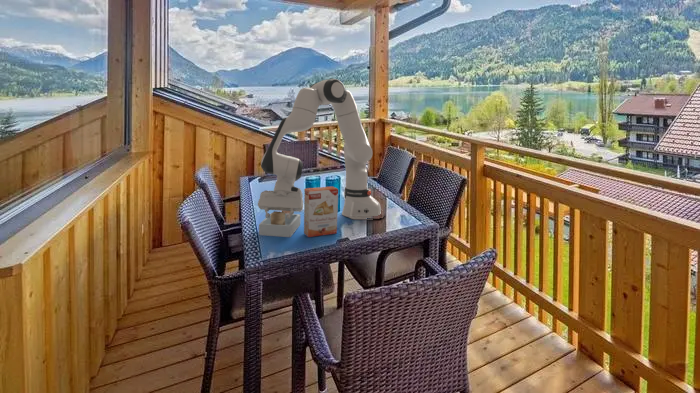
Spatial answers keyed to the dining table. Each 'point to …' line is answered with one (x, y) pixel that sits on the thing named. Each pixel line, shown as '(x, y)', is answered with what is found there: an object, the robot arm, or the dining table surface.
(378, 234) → the dining table surface
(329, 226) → the cracker box
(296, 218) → the tote
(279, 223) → the beech block
